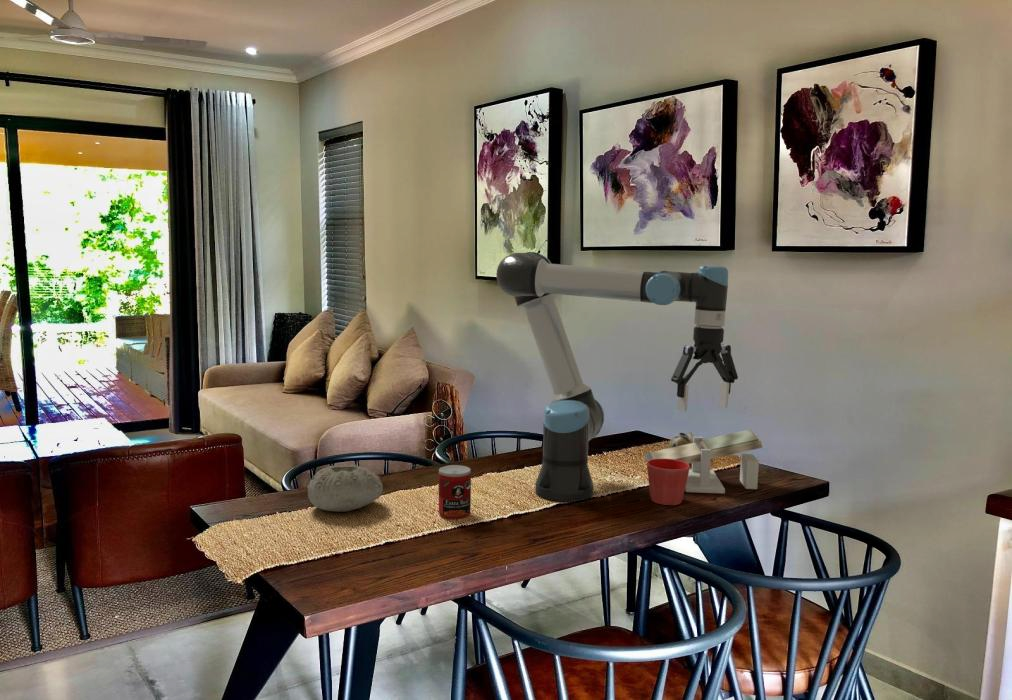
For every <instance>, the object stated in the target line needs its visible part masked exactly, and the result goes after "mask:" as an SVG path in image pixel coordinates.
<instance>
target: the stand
mask: <svg viewBox="0 0 1012 700" xmlns="http://www.w3.org/2000/svg"><path fill="white" fill-rule="evenodd" d="M703 440H704V438H703V436H694V437H693V443H695V442H697V441H703ZM711 461H712V459H711V449H701V461H699V462H695V463H691V468H690V469H689V474H688V478H687V483H686V487H685V491H684V492H685V493H701V494H702V493H705V494H725V493H726V488H725V487H724V485H723V483H722V482H721V481H720V478H719V477H718V476H717V474H716V473H715V471H714V469H711ZM759 463H760V461H759V460H758V458H757V457H756V456H755V455H754V454H753V453H751V452H750V453H746V452H740V467H739V469H740V470H739V471H740V472H739V481H740V483H741V484H742V486H743V487H744V488H745V489H746V490H747V489H748V490H758V483H759V466H760V465H759Z"/></svg>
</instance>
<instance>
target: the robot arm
mask: <svg viewBox="0 0 1012 700" xmlns="http://www.w3.org/2000/svg"><path fill="white" fill-rule="evenodd" d="M496 268H497V270H496V281H497V284H498V286H499V288H500V289H501V290H502V292H504V293H506V294H507V295H508V296H510V297H511V296H512V297H513V298H514V301H515V303H516V306H517V308H518V309H519V310H522V311H524V312H525V315H526V318H527V321H528V324H529V326H530V330H531V332H532V335H533V338H534V340H535V343H536V346H537V350H538V353H539V355H540V358H541V361H542V363H543V367H544V370H545V372H546V376H547V379H548V381H549V383H550V386H551V390H552V393H553V395H552V397H551V399H550V403H548V404H547V405H546V406H545V408H544V411H543V417H542V423H543V425H542V426H543V430H542V431H543V434H542V435H543V437H542V441H543V442H542V464H541V467H540V469H539V473H538V476H537V478H536V480H535V481H536V482H535V494H536V495H537V496H539V497H540V498H543V499H545V500H550V501H556V502H578V501H579V502H580V501H583V500H587V499H590V498H591V497H593V496H594V486H595V485H594V483H593V479H592V476H591V472H590V469H589V465H588V463H589V462H588V460H589V459H588V457H589V455H588V454H589V442H590V441H591V440H592V439H594V438H595V437H597V435H598V434H599V433H600V432H601V430H602V429H603V426H604V422H605V412H604V408H603V406H602V405H601V402H599V401H598V400H597V399H596V398H595V396H594V394H593V391H592V388H591V387H590V386H588V385H587V384H585V383H584V381H583V379H582V376H581V374H580V371H579V368H578V364H577V361H576V359H575V356H574V353H573V350H572V347H571V345H570V340H569V338H568V336H567V332H566V330H565V327H564V324H563V321H562V318H561V316H560V313H559V310H558V306H557V304H556V298H557V297H558V295H562V296H572V297H575V296H576V297H585V298H593V299H594V298H597V299H609V300H618V301H627V302H628V301H629V302H639V303H641V302H642V303H649V304H654V305H657V306H668V305H670V304H672V303H673V302H686V303H687V302H689V303H695V310H694V319H693V320H694V321H693V322H694V324H693V325H696V326H694V327H693V334H692V335H693V337H692V339H693V342H694V344H693V346H692V345H683V348H682V349H683V351H682V354H681V357H680V359H679V361H678V363H677V365H676V368H675V369H674V372H673V374H672V376H671V379H670V381H671V382H673V383H675V384H677V386H676V387H677V388H676V390H677V391H676V396H677V397H678V398H677V399H678V401H677V409H678V410H681V411H682V412H687V410H688V404H689V403H688V401H689V400H688V399H689V390H690V389H689V387H690V386H689V385H688V384H687V383H689V381H690V379H691V378H692V377H693V375H694V374H695V372H696V371H697V370H698V368H700V366H702V365H703V364H708V363H709V364H713V366H714V368H715V370H716V371H717V372H718V374H719V376H720V378H721V381H719V391H718V403H717V406H718V407H722V408H724V409H726V408H728V406H729V405H728V404H729V395H730V393H731V386H732V384H734V383H735V380H738V378H739V376H738V373H737V369H736V366H735V363H734V360H733V356H732V347H731V345H729V344H726V343H725V344H724V343H723V342H724V337H725V336H724V335H725V329H724V328H723V327H724V326H725V322H726V310H727V309H726V308H727V301H728V300H727V299H728V298H727V297H728V289H729V270H728V268H727V267H726V266H721V265H720V266H719V265H700V266H698V269H697V272H682V271H670V270H669V271H668V270H654V271H643V270H633V269H618V268H608V267H593V266H582V265H570V264H561V263H559V264H558V263H552V262H551V261H550V260H549V258H548V257H546V256H545V255H543V254H540V253H538V252H536V251H527V252H514V253H510V254H508V255H506V256H505V257H504V258H503V259H502V260H501V261H500V262H499V263H498V265H497V267H496Z"/></svg>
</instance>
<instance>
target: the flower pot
mask: <svg viewBox="0 0 1012 700" xmlns="http://www.w3.org/2000/svg"><path fill="white" fill-rule="evenodd" d="M646 468H647V469H646V470H647V479H648V486H649V487H648V488H649V495H650V500H651V501H652V502H653V503H655V504H659V505H664V506H665V505H666V506H676V505H680V504H681V503H682V501H683V498H684V494H685V492H686V491H685V487H686V483H687V478H688V474H689V469H691V467H690V464H688V463H686V462H683V461H679V460H674V459H652V460H649V461H648V462H646Z"/></svg>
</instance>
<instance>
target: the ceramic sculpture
mask: <svg viewBox="0 0 1012 700" xmlns="http://www.w3.org/2000/svg"><path fill="white" fill-rule="evenodd" d="M693 437H695V436H694V435H693V433H692V432H689V433H684V432H679V433H678V434H677V436H676V437H673V438H672V439H670V440H669V442H668V445H667V446H665V447H662V448H661V449H660V450H663V449H668V448H672V447H677V446H681V445H686V444H690V443H693Z"/></svg>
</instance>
